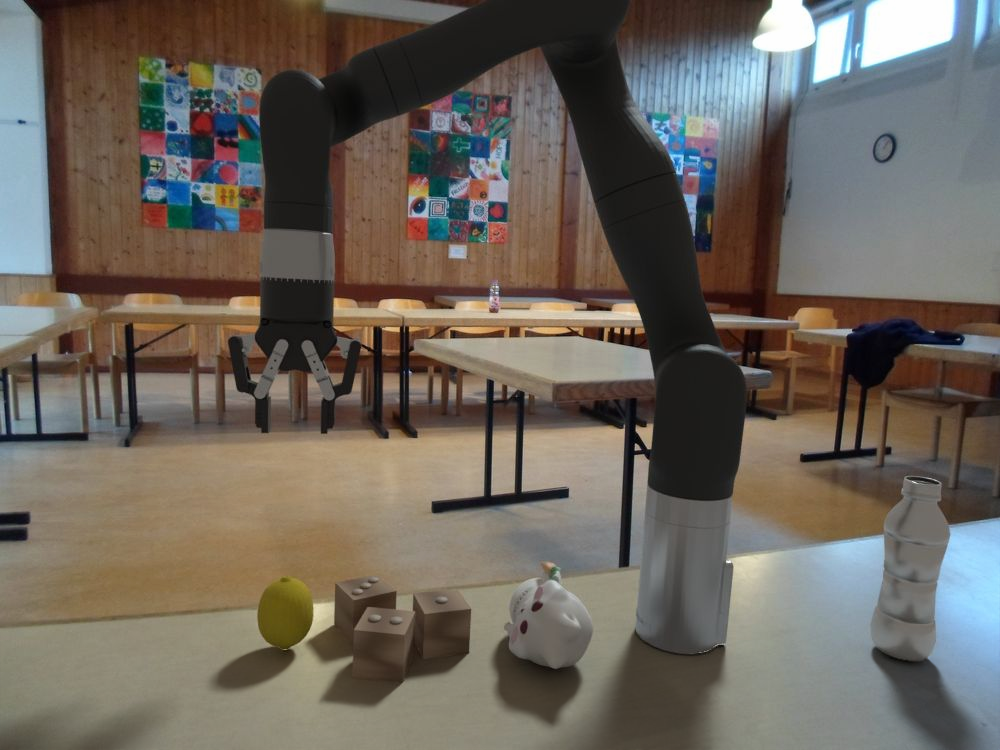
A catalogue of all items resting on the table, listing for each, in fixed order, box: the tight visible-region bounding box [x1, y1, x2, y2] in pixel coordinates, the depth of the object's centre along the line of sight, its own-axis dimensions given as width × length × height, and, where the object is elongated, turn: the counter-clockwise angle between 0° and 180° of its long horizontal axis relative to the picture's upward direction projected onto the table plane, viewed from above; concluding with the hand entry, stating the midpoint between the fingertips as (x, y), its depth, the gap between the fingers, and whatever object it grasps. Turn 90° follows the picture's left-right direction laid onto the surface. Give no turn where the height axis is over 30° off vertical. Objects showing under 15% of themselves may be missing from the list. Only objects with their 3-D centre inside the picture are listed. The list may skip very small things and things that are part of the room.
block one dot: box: [412, 588, 472, 660], centre depth 77 cm, size 5×5×5 cm
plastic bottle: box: [869, 475, 951, 662], centre depth 80 cm, size 6×7×20 cm
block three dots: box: [333, 573, 398, 645], centre depth 80 cm, size 5×5×5 cm
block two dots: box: [351, 607, 415, 684], centre depth 72 cm, size 5×5×5 cm
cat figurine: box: [503, 561, 594, 670], centre depth 76 cm, size 10×8×15 cm
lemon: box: [256, 575, 314, 650], centre depth 74 cm, size 6×6×8 cm
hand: (295, 431), depth 79 cm, fingers open, 5 cm apart
